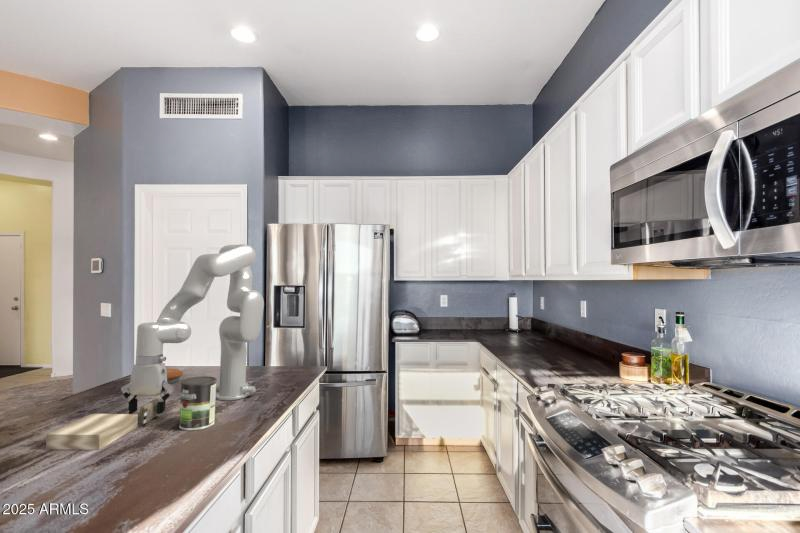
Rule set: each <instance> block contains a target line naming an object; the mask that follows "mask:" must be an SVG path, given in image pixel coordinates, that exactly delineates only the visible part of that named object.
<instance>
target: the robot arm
mask: <svg viewBox="0 0 800 533" xmlns="http://www.w3.org/2000/svg"><path fill="white" fill-rule="evenodd" d="M256 256H257V255H256V251H255V249H254V248H253V247H252V246H251V245H248V244H228V245H224V246H222V247H220V249H219V252H218V253H205V254H204V253H203V254H202V255H199V256H198V257H197V258H196V259H195V260H194V262H193V264H192V266H191V268H190V270H189V272H188V274H187V276H186V278H185V280H184V282H183V284H182V286H181V288H180V289H179V291H178V292H177V293H176V294H174V296H173V297H172V298H171V299H170V300H169V302H167V303H166V305H165V306H164V307H163V309H162V311H161V312H160V315H159V316H158V318H157V320H156V322H142V323H140V324H138V325H137V329H136V350H135V352H136V353H135V363H134V364H133V367H132V370H131V374H130V378H129V379H130V380H129V383H126V384H124V385H123V386H122V387H121V388H120V390H121V392H122V394H123V396H124V398H125V399H126V402H128V409H127V410H128V414H135V413H136V412H137V410H138V402H139V400H138V398H137V397H138V396H141V397H142V396H150V397H151V396H153V397H154V396H155V398H156V399H157V398H158V400H159V402H158V403H157V414H160V415H161V414H162V413H164V412H165V410H166V400H168V398H170V397H171V396H172V394H173V393H174V391H175V390H176V387H174V386H172V384H168V383H167V372H166V369H167V366H166V363H165V362H166V360H167V357H166V356H164V354H163V353H164V344H181V343H184V342H185V341H187V340H188V339H189V338H190V337H191V335H192V328H191V327H190V326H191V325H190V324H188V323H187V322H184V321H181V320H182V318H183V317H184V315H185V314H186V312H187V311H188V310H189V309H191V308H192V307H193V306H195V305H197V304H198V303H200V302H202V301H204V300H205V299H206V296H207V295H208V292H209V290H210V288H211V285H212V283H213V282H214V280H215V278H220V277H225V276H228V275H229V286H228V291H227V299H226V306H227V309H228V310H229V311H230V312H233V313H238V314H240V315H230V316H227V317H225V318H223V320H221V323H220V324H219V328H218V332H219V333H218V334H219V339H220V340H219V341H220V362H219V364H220V367H219V388H218V389H219V390H218V391H216V398H215V400H219V401H236V400H241V399H245V398H247V397H248V396H250V393H256V391H257V389H256V387H255V386H254V385H253V386H252V385H251V386H249V382H246V380H247V379H246V376H247V355H248V350H247V349H248V348H247V344H246V343H252V342H254V341H255V340H257V338H258V337H259V335H260V333H261V331H262V330H261V328H262V323H263V322H262V321H263V316H264V308H265V302H264V301H265V300H264V297H263V294H261V293H260V292H259V291H258V290H255V289H253V281H254V279H253V272H252V269H251V267H250V265H253V263H255V262H254V261H255V260H256ZM165 392H166V393H165Z"/></svg>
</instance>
